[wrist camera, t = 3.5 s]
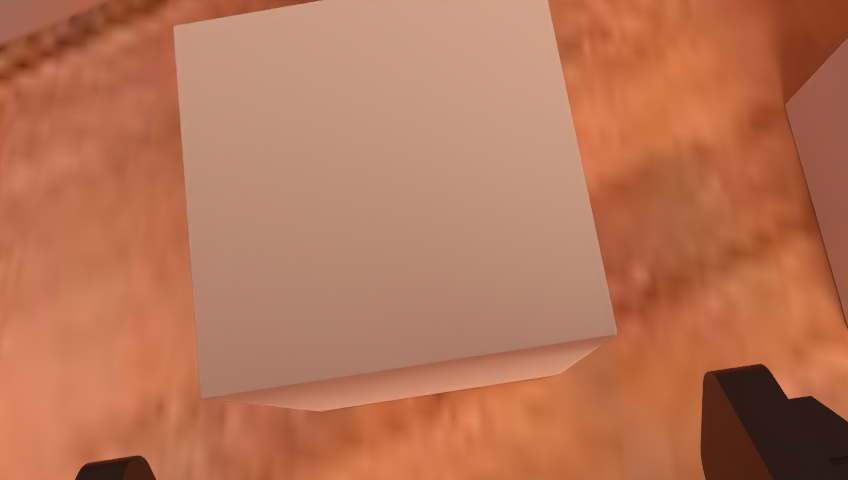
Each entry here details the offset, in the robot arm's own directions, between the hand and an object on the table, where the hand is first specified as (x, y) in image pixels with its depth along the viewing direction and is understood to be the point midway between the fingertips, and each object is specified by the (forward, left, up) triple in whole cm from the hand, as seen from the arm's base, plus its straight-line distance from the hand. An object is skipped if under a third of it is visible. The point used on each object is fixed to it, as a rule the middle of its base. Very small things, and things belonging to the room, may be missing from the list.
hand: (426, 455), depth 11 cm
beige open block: (0, +5, -9) cm, 10 cm away
